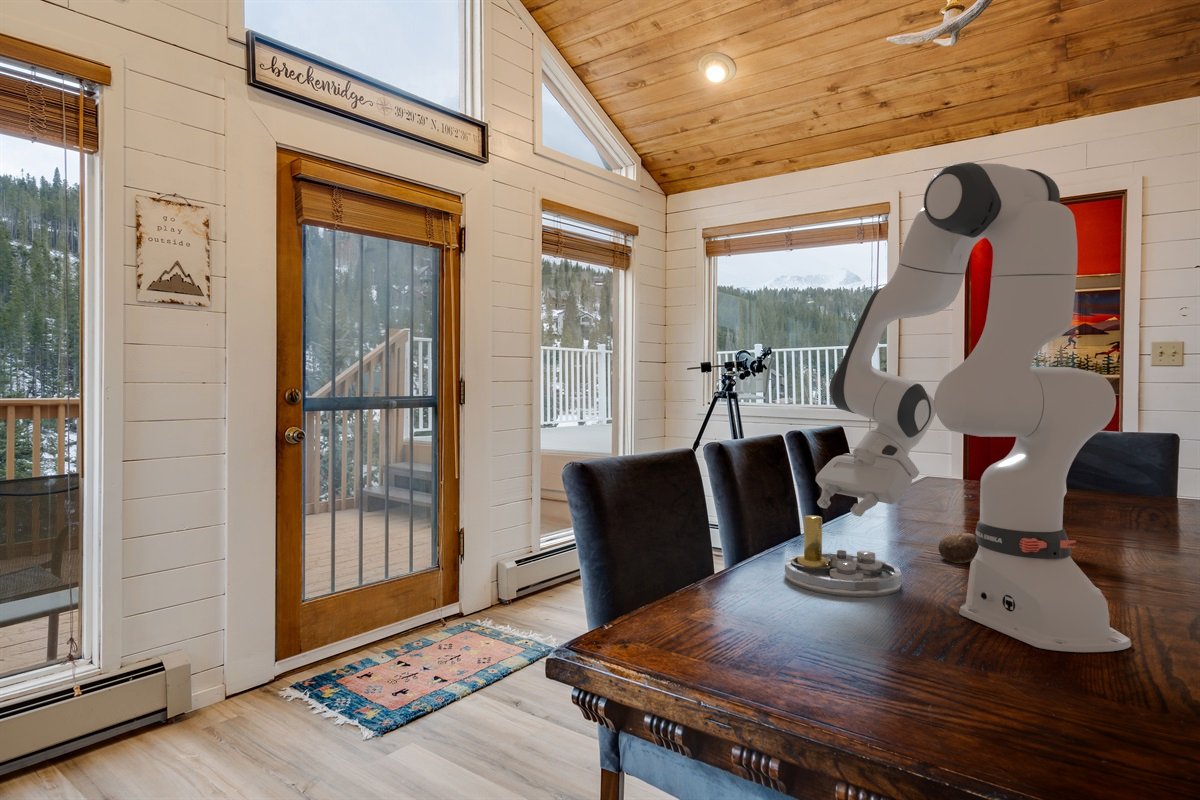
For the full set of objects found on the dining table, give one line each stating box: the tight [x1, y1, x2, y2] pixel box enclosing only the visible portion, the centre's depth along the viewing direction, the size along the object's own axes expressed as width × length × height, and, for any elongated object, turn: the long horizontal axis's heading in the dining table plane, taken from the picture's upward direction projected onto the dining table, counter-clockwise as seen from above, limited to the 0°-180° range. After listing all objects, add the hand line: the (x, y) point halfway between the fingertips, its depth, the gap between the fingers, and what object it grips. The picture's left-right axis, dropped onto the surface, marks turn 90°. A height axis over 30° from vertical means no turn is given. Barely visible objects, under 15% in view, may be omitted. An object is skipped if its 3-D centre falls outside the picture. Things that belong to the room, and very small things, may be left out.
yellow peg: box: [798, 515, 828, 567], centre depth 129 cm, size 6×6×10 cm
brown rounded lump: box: [938, 532, 979, 564], centre depth 140 cm, size 8×8×6 cm
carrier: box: [784, 549, 903, 598], centre depth 126 cm, size 20×20×5 cm
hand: (837, 509), depth 132 cm, fingers open, 8 cm apart
